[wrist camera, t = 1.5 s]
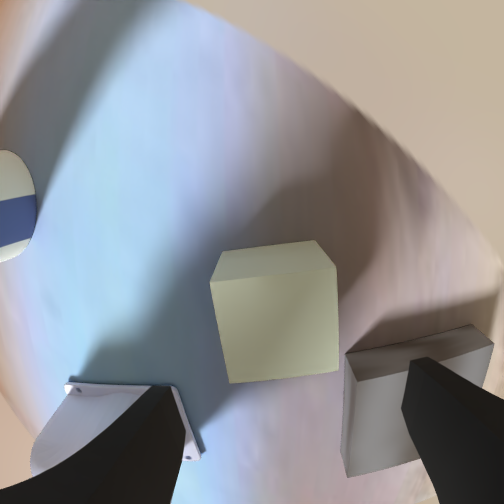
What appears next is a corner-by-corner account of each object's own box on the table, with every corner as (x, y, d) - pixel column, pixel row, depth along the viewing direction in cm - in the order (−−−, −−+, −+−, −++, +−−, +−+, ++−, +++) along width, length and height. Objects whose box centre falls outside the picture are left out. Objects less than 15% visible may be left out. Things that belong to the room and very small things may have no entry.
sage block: (235, 332, 19) (229, 383, 14) (222, 250, 17) (209, 282, 12) (320, 322, 18) (338, 370, 13) (314, 239, 17) (336, 267, 12)
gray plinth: (340, 450, 21) (347, 477, 18) (344, 353, 19) (357, 381, 16) (447, 421, 21) (460, 443, 18) (471, 324, 18) (494, 343, 15)
